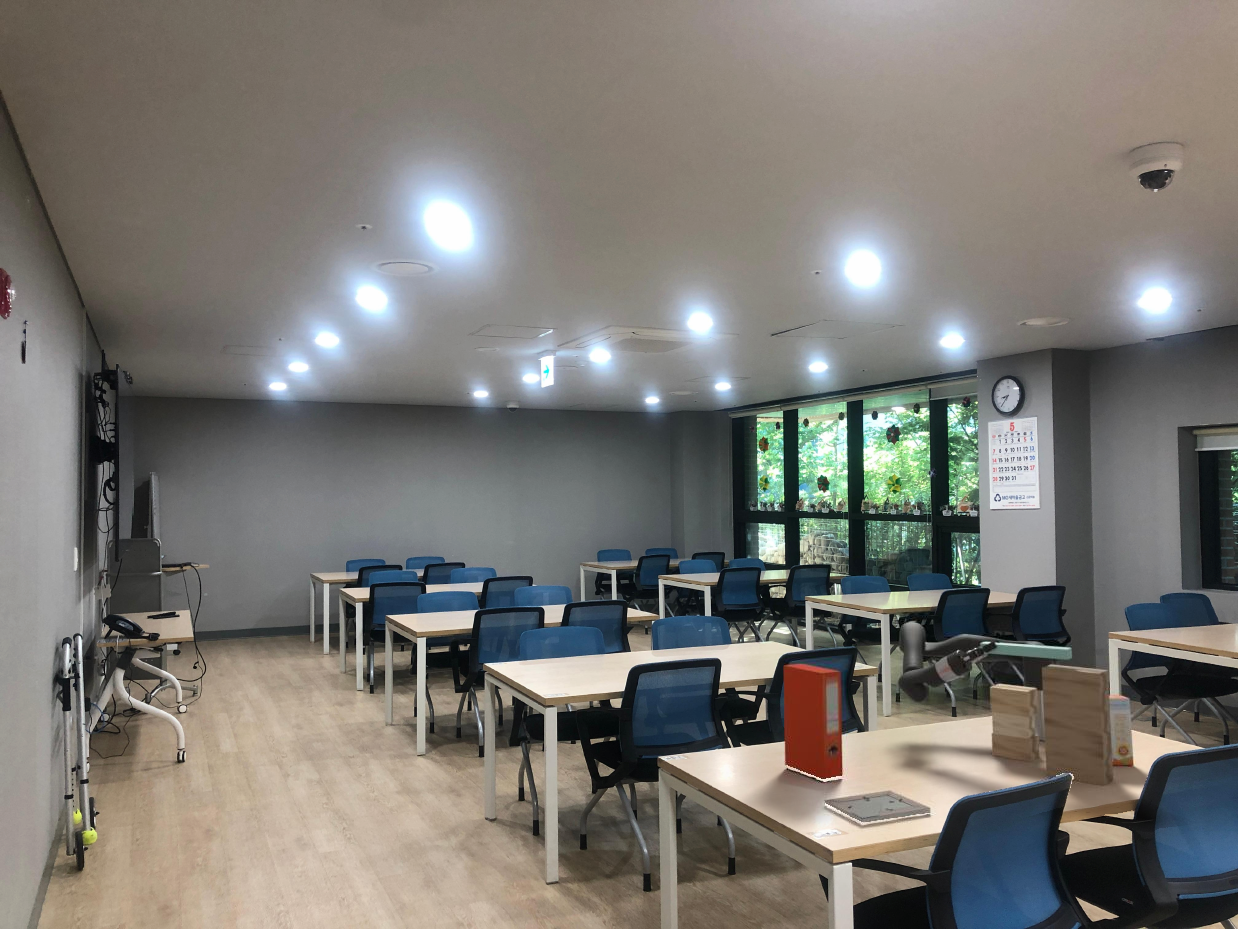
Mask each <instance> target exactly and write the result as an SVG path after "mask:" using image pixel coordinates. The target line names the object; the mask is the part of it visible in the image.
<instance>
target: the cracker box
mask: <svg viewBox="0 0 1238 929" xmlns="http://www.w3.org/2000/svg"><path fill="white" fill-rule="evenodd" d="M1109 702H1110V723H1111V744H1112V765H1113V766H1125V765H1131V766H1134V750H1133V731H1132V730H1133V729H1132V716H1131V701H1130V697H1126V696H1124V695H1120V694H1119V695H1118V694H1117V695H1115V694H1114V695H1113V694H1112V695H1111V694H1109Z"/></svg>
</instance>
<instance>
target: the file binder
mask: <svg viewBox="0 0 1238 929" xmlns="http://www.w3.org/2000/svg"><path fill="white" fill-rule="evenodd" d="M841 672H842V671H840V670H836V669H835V670H834V669H831V668H825V667H824V668H823V667H820V666H815V665H810V664H805V663H795V664H786V665H785V664H784V665H783V707H784V708H783V709H784V715H783V716H784V718H783V719H784V723H783V724H784V766H785V765H788V766H790V767H793V768H796V769H798V770H800V771H803V772H806V773H808V774H811V775H814V776H816V777H819V778H821V779H826V778H831V777H836V776H842V775H843V774H844V772H843V769H844V768H843V732H842V731H843V726H842V725H843V724H842V719H843V718H842V681H841V678H842V677H841Z"/></svg>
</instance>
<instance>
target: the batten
mask: <svg viewBox="0 0 1238 929" xmlns="http://www.w3.org/2000/svg"><path fill="white" fill-rule="evenodd" d="M989 643H991V642H983V643H980V646H981V647H982V646H985V645H987V644H989ZM995 644H996V645H997V648H995V649H993V650H991V651H989V652H986V653H990V654H1003V655H1016V656H1028V657H1041V658H1052V660H1053V659H1057V660H1071V659H1072V658H1073V651H1072V650H1073V649H1072V647H1069V646H1068V647H1067V646H1066V647H1065V646H1054V645H1053V646H1052V645H1051V646H1050V645H1045V646H1039V645H1025V644H1011V643H996V642H995ZM983 648H984V647H983Z"/></svg>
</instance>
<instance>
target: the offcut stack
mask: <svg viewBox="0 0 1238 929" xmlns="http://www.w3.org/2000/svg"><path fill="white" fill-rule="evenodd" d="M989 699H990V700H989V701H990V712H991V716H992V719H991V720H992V733H991V746H992V747H991V748H992V751H991V752H992V754H991V755H992V756H996V757H1001V758H1007V759H1012V760H1019V761H1024V762H1029V763H1031V762H1033V761H1034V760H1037V759H1038V757H1039V758H1040V755H1041V754H1040V752H1041V751H1040V740H1039V735H1036V734H1035V724H1034V715H1035V714H1037V713H1038V704H1037V688H1031V687H1024V685H1022V686H1021V685H1012V684H1005V683H1004V684H1003V683H998V684H995V685H992V686H990V687H989Z"/></svg>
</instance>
